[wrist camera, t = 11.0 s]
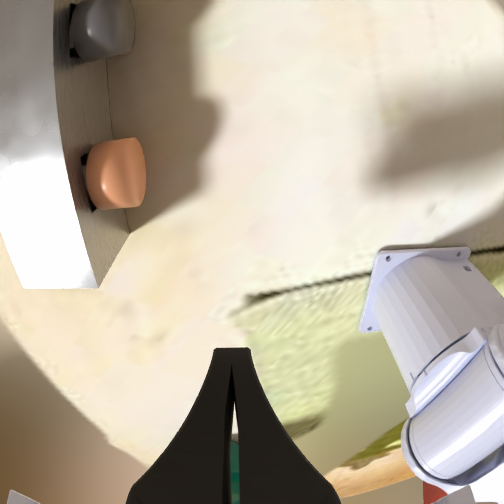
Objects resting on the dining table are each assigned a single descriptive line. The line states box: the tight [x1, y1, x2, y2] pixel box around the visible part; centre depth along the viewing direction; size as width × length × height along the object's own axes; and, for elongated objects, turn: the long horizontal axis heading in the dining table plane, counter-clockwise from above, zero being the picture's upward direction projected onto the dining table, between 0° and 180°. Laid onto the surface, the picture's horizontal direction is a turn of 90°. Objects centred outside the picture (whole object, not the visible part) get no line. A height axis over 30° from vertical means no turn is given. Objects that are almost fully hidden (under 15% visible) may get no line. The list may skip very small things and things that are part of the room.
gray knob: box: [69, 0, 135, 62], centre depth 10 cm, size 7×4×4 cm, turn 91°
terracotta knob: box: [82, 137, 146, 210], centre depth 14 cm, size 7×4×4 cm, turn 91°
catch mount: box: [0, 0, 130, 288], centre depth 12 cm, size 6×18×6 cm, turn 1°
